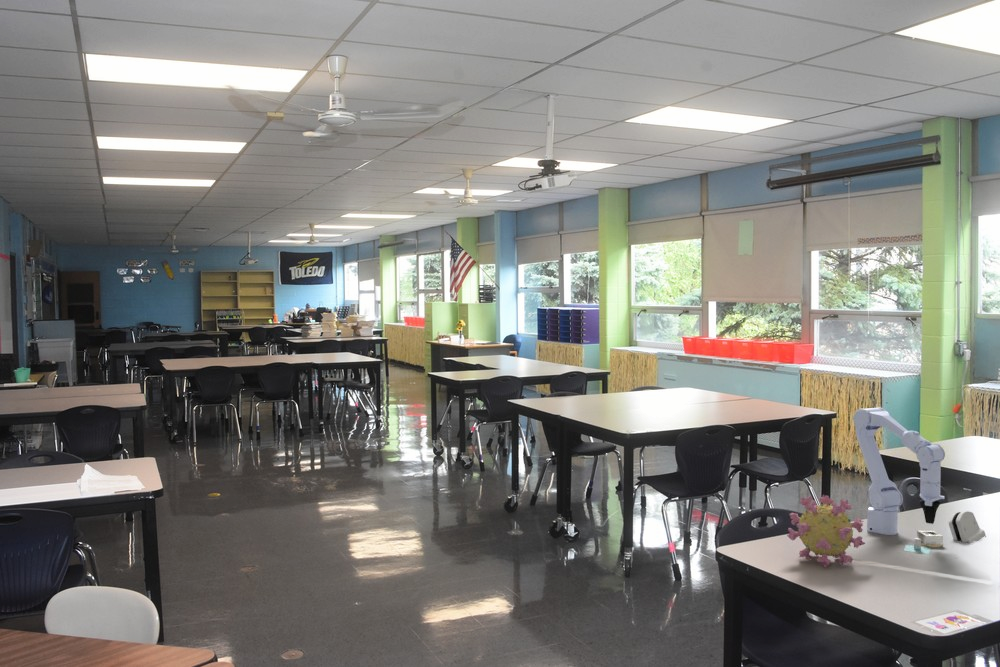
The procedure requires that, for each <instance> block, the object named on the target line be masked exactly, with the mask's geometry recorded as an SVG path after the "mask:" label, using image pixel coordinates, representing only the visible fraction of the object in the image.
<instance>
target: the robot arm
mask: <svg viewBox="0 0 1000 667" xmlns="http://www.w3.org/2000/svg"><path fill="white" fill-rule="evenodd" d="M852 420H853V424H854V426H855V436H856V439H857V442H858V445H859V448H860V451H861V455H862V456H863V460H864V462H865V466H866V469H867V472H868V474H869V478H870V480H871V484H870V486H869V488H868V493H869V498H868V499H869V502H870V505H871V506H869V507H868V508H867V512H866V514H867V515H866V516H867V518H866V531H867V532H868V533H876V534H881V535H887V536H889V535H890V536H891V535H892V536H893V535H895V536H896V535H897V534H898V520H899V519H898V516H899V515H898V510H899V509H900V506H901V505H902V504H903V501H904V498H903V497H904V496H903V493H902V492H901V491H900V490H899V489H898V487H897V484H896V483H894V482H893V481H892V480H891V479H889V476H888V473H887V470H886V467H885V464H884V461H883V459H882V455H881V452H880V449H879V447H878V445H877V444H878V443H877V442H876V439H875V435H876V433H877V432H878V431H879V429H881V427H882V428H884V429H886V430H887V431H889V432H890V433H892V434H894V435H895V436H897V437H898V438H899V439H900V442H901V444H902V445H903V446H904V447H906V448H907V449H908V450H910V451H911V452H912V453H913V454H915V455H916V458H917V460H918V462H919V467H920V475H919V476H920V480H919V482H920V483H919V484H920V485H919V490H920V491H919V492H920V493H919V497H920V498H921V499H920V500H919V503H920V504H919V505H920V507H921V508H922V511H923V516H924V521H925V523H926V524H929V525H930V524H931V525H933V524H934V523H935V520H936V515H937V510H938V508H939V507H940V505H941V500H945V495H941V475H942V474H941V465H942V464H941V463H942V461H943V460H944V459H945V457H946V452H945V449H944V447H942V446H941V445H940V444H938V443H932V442H931V441H930V440H927V439H926V438H924V437H923V436H922V435H921V434H920V432H918V431H917V430H916V431H915V430H908V429H907V428H905V427H904V426H903V425H901V424H900V423H899V422H898V421H897V420H896V419H895V418H894V417H892V416H891V415H890V412H888V411H887V410H886V409H884V408H882V407H881V406H877V407H871V408H857V410H856V411H855V412H854V414H853V416H852Z"/></svg>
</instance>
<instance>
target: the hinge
mask: <svg viewBox="0 0 1000 667" xmlns="http://www.w3.org/2000/svg"><path fill="white" fill-rule="evenodd" d="M948 526H949V529H950V533H951V535H952V539H953V540H954V541H960V542H963V543H969V544H971V543H972V542H977V541H978V540H980V539H982V538H985V537H986V536H987V535H986V532H985V530H984V529H982V528H980V526H979V524H978V521H977V520H976V516H975V513H974V512H972V511H968V510H967V511H966V510H964V511H958V512H956V513H953V514H951V515H950V518H949V520H948ZM985 535H986V536H985ZM984 536H985V537H984Z"/></svg>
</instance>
